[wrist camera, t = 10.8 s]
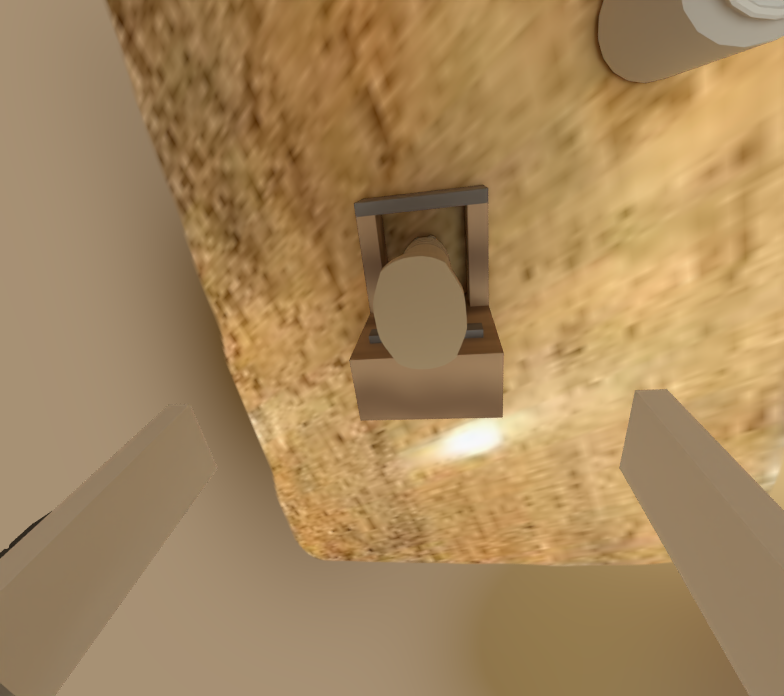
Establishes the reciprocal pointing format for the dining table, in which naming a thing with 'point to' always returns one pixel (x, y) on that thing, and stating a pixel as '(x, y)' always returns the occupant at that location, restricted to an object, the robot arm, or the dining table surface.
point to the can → (682, 33)
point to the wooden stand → (481, 342)
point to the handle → (420, 306)
